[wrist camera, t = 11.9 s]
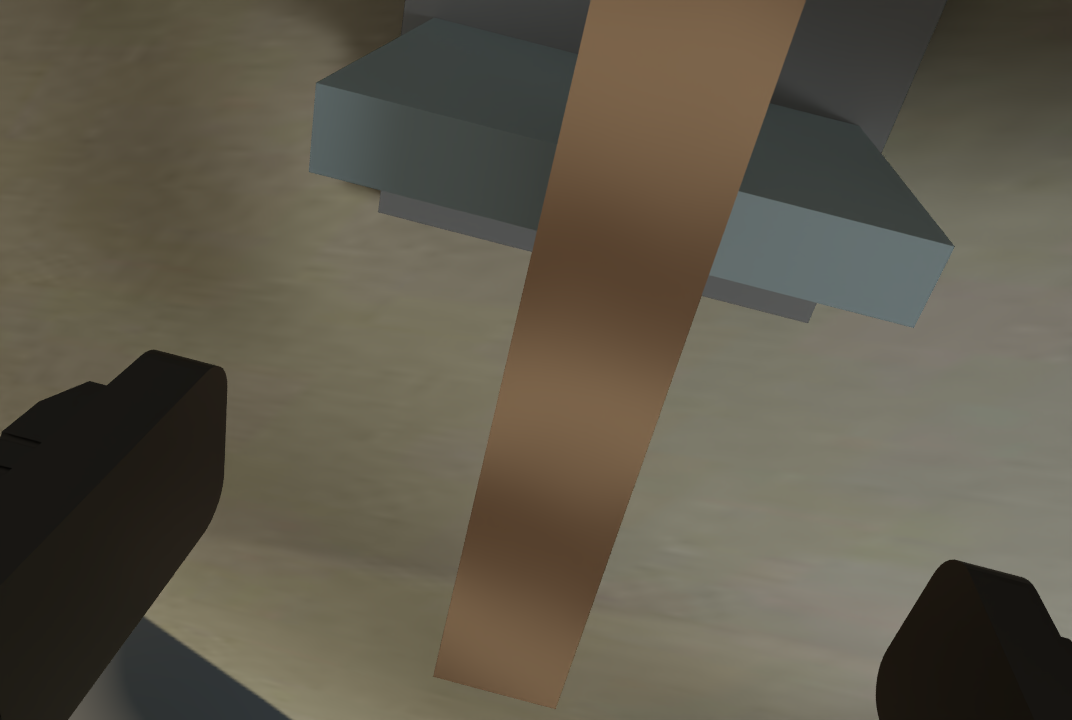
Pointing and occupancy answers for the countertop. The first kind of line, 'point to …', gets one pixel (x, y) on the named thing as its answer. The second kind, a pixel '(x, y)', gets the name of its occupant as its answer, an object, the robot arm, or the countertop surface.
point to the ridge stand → (536, 118)
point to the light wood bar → (605, 318)
